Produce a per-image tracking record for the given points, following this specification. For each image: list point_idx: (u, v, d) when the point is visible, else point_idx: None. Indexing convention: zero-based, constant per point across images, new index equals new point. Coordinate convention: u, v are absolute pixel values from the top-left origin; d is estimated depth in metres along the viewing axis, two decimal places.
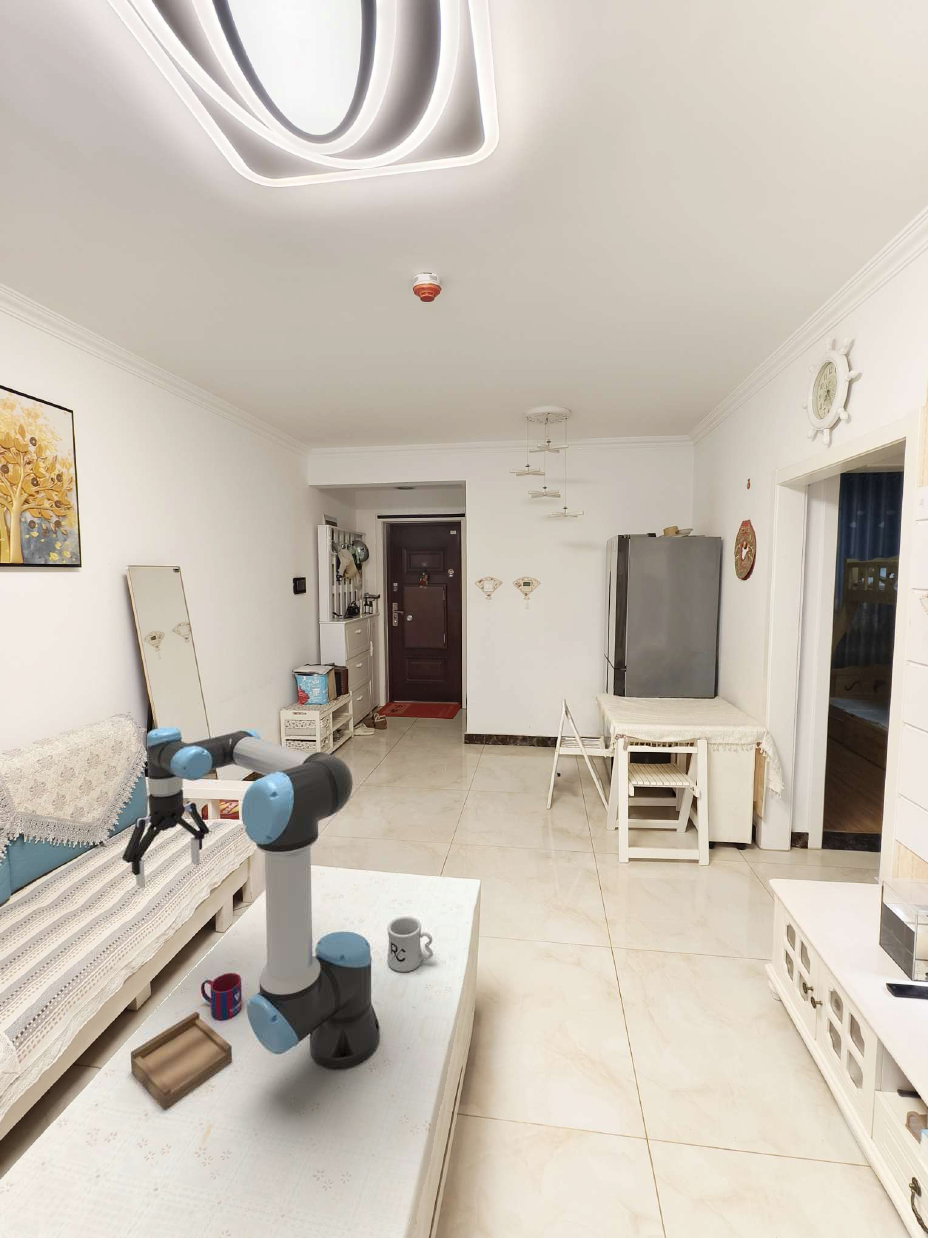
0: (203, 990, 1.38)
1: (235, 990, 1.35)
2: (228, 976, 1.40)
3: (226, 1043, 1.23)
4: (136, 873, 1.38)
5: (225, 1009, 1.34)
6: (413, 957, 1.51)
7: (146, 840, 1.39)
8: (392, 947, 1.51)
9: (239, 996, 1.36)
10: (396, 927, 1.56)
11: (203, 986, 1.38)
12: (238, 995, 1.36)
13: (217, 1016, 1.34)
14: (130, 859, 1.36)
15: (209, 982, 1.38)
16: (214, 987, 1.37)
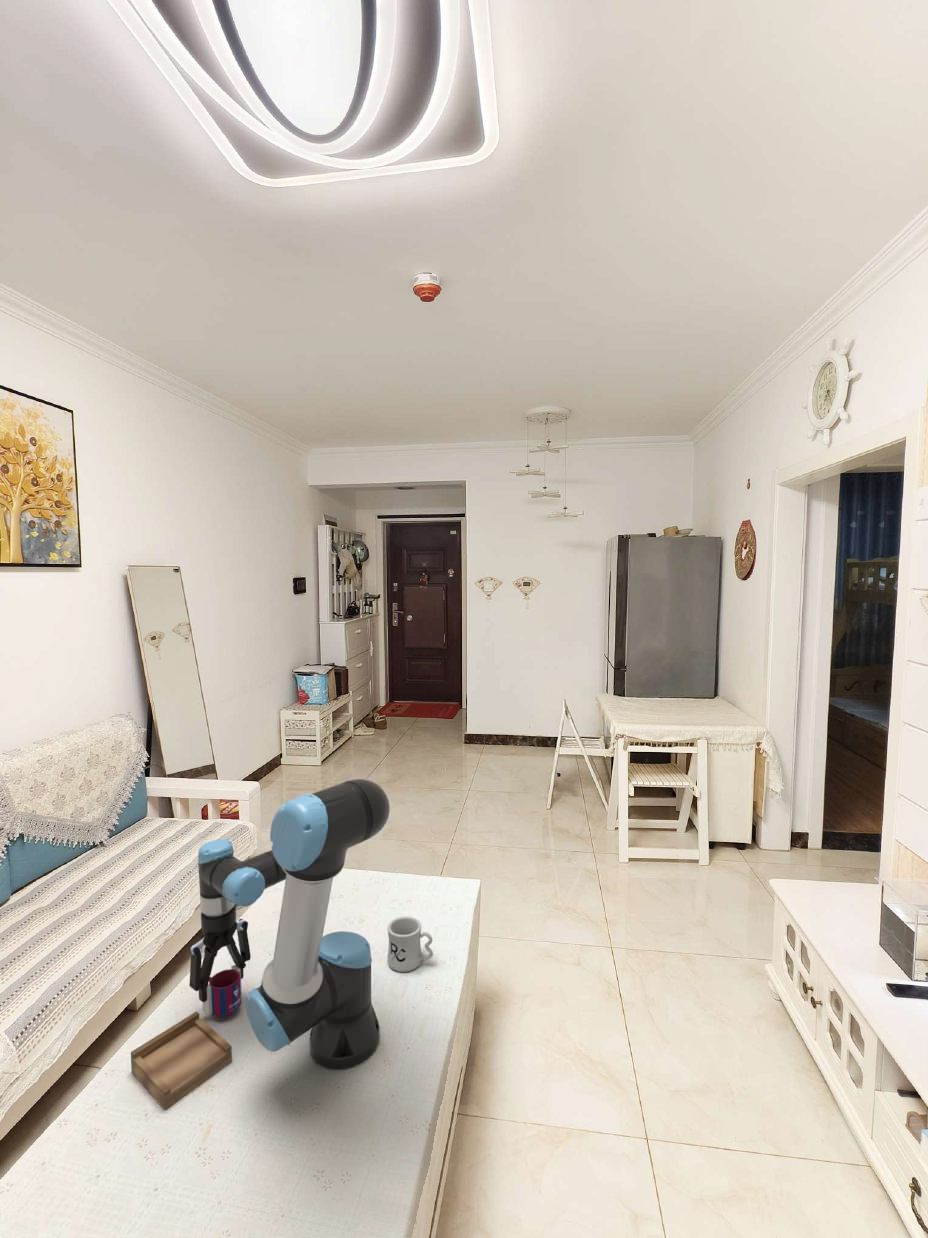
0: None
1: (234, 986, 1.34)
2: (227, 972, 1.39)
3: (226, 1043, 1.23)
4: (203, 1000, 1.33)
5: (224, 1005, 1.33)
6: (413, 957, 1.51)
7: (206, 965, 1.33)
8: (392, 947, 1.51)
9: (238, 992, 1.36)
10: (396, 927, 1.56)
11: None
12: (237, 991, 1.35)
13: (216, 1013, 1.33)
14: (198, 987, 1.31)
15: None
16: (213, 983, 1.36)
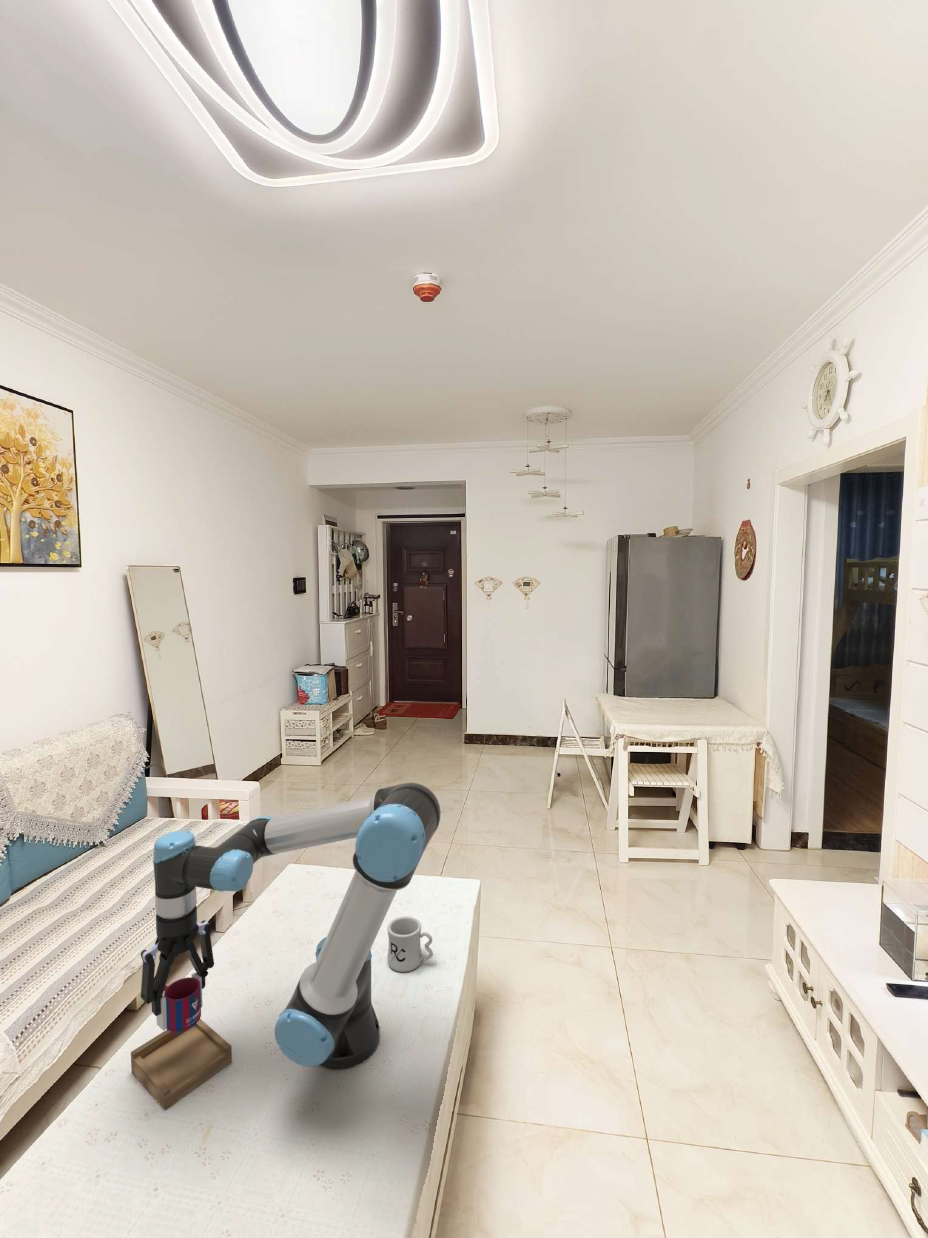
0: None
1: (192, 998, 1.17)
2: (186, 981, 1.22)
3: (226, 1043, 1.23)
4: (157, 1013, 1.16)
5: (180, 1019, 1.16)
6: (413, 957, 1.51)
7: (161, 974, 1.16)
8: (392, 947, 1.51)
9: (197, 1004, 1.19)
10: (396, 927, 1.56)
11: None
12: (196, 1003, 1.18)
13: (170, 1028, 1.16)
14: (150, 999, 1.14)
15: (164, 988, 1.20)
16: (169, 993, 1.20)
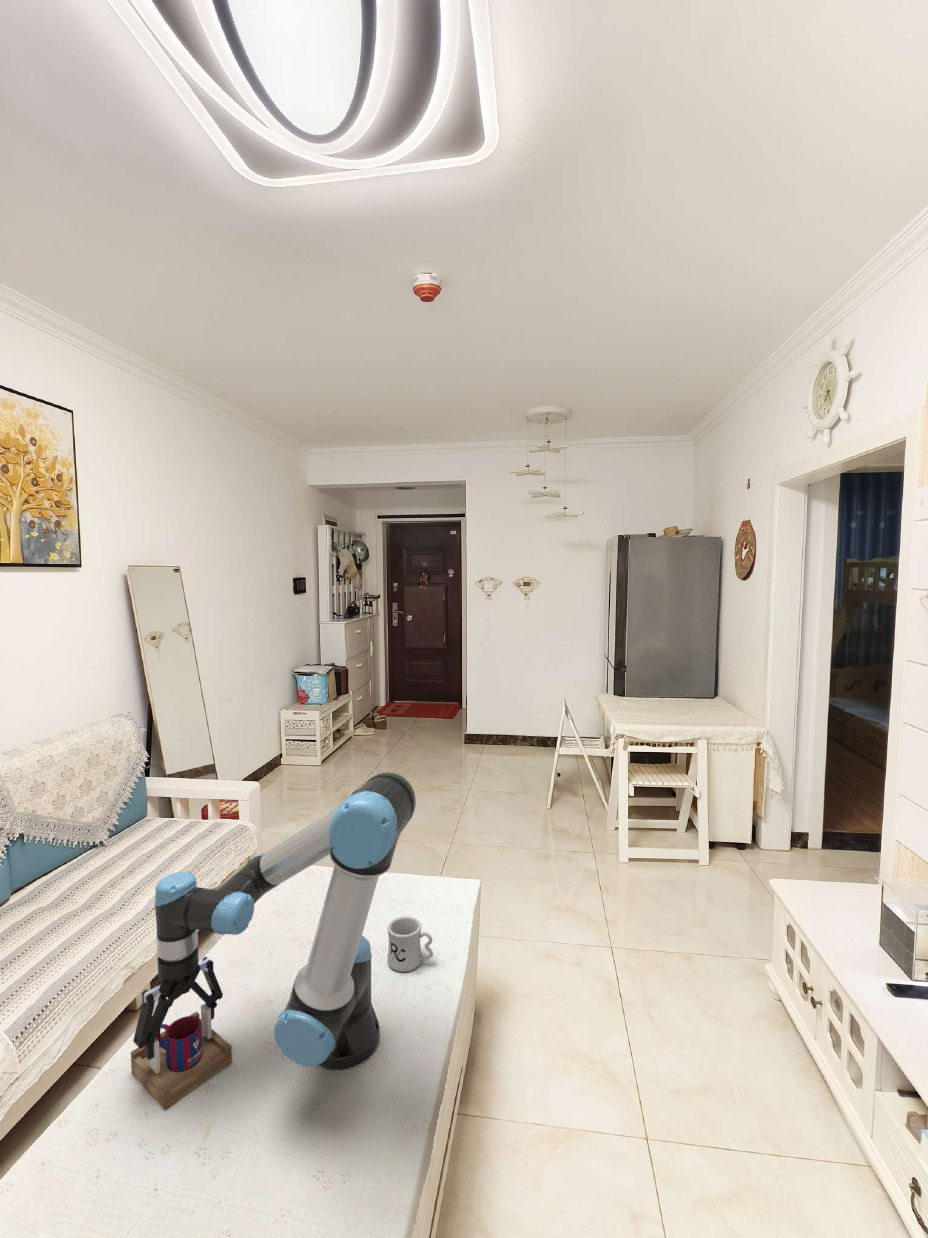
0: (158, 1036, 1.22)
1: (193, 1037, 1.18)
2: (187, 1020, 1.23)
3: (226, 1043, 1.23)
4: (150, 1057, 1.15)
5: (181, 1059, 1.17)
6: (413, 957, 1.51)
7: (158, 1016, 1.16)
8: (392, 947, 1.51)
9: (198, 1044, 1.19)
10: (396, 927, 1.56)
11: None
12: (197, 1043, 1.19)
13: (172, 1068, 1.17)
14: (143, 1043, 1.13)
15: (165, 1027, 1.21)
16: (170, 1033, 1.20)
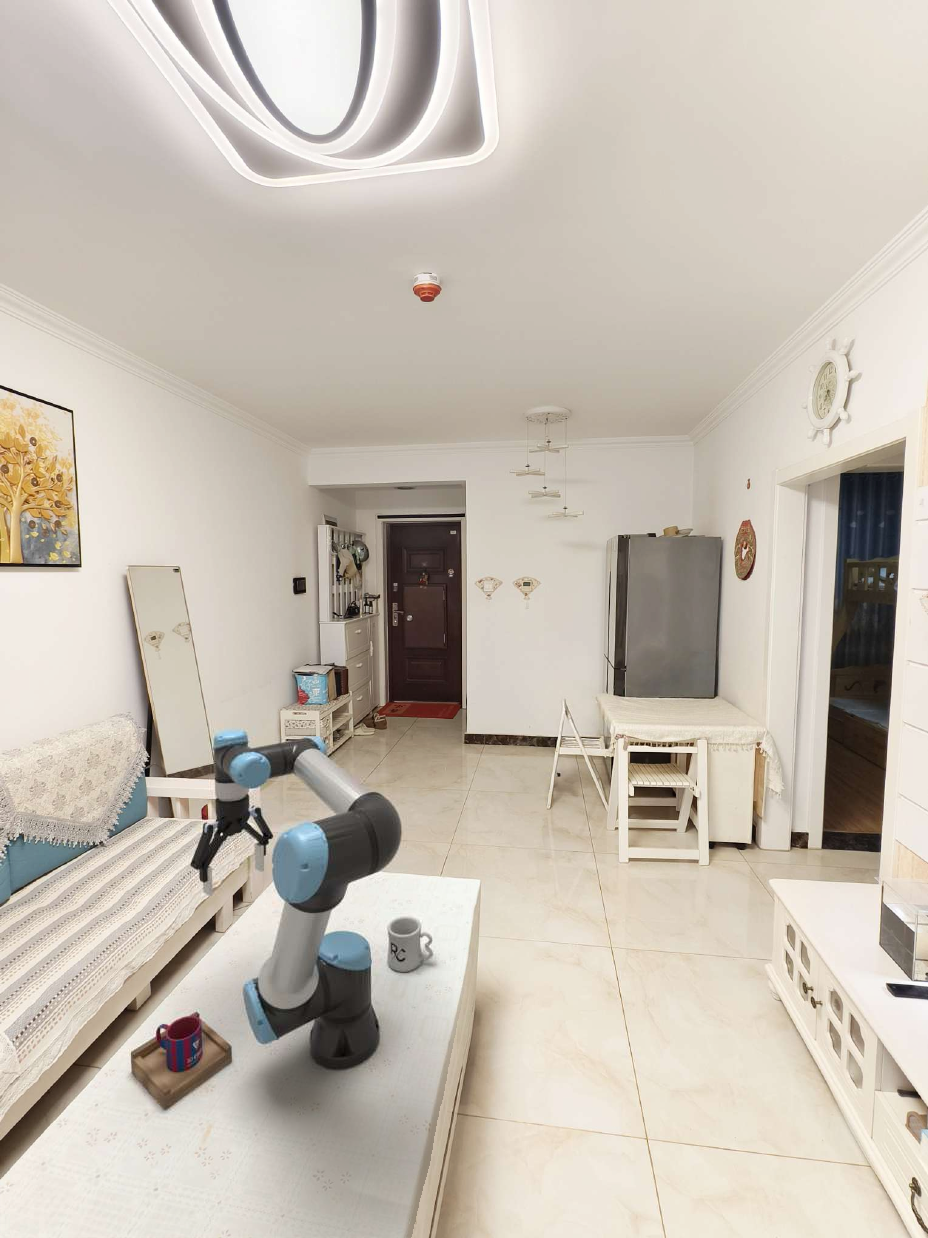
0: (158, 1036, 1.22)
1: (193, 1037, 1.18)
2: (187, 1020, 1.23)
3: (226, 1043, 1.23)
4: (204, 880, 1.33)
5: (181, 1059, 1.17)
6: (413, 957, 1.51)
7: (214, 846, 1.35)
8: (392, 947, 1.51)
9: (198, 1044, 1.19)
10: (396, 927, 1.56)
11: (158, 1031, 1.21)
12: (197, 1043, 1.19)
13: (172, 1068, 1.17)
14: (199, 866, 1.31)
15: (165, 1027, 1.21)
16: (170, 1033, 1.20)
